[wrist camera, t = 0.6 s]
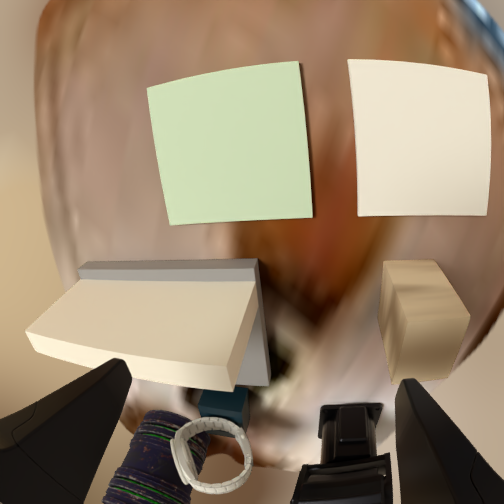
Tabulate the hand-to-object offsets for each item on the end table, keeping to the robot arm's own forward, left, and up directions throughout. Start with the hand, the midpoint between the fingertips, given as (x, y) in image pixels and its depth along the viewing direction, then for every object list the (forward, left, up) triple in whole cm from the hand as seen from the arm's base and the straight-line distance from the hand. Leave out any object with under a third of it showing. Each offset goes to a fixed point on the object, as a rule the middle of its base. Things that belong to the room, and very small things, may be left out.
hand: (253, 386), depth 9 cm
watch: (-19, +7, -14) cm, 25 cm away
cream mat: (+6, -10, -13) cm, 17 cm away
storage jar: (-28, +16, -14) cm, 35 cm away
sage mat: (+6, +3, -13) cm, 15 cm away
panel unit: (-8, +10, -13) cm, 19 cm away
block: (-5, -9, -13) cm, 17 cm away
